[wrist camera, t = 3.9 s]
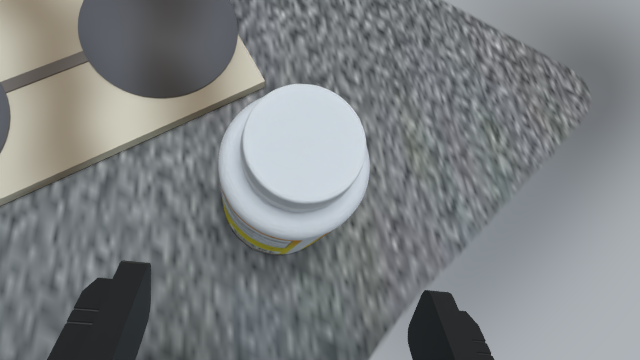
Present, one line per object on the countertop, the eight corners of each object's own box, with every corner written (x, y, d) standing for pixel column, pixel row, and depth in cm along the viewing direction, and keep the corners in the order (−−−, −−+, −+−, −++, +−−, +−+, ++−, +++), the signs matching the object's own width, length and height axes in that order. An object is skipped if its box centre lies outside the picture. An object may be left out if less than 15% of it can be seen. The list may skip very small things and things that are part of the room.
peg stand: (-130, 264, 20) (-459, 238, 11) (-213, 73, 21) (-576, -106, 12) (271, 83, 26) (295, -41, 16) (188, -60, 27) (164, -257, 17)
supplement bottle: (320, 147, 25) (375, 55, 15) (336, 248, 24) (408, 217, 14) (216, 156, 24) (206, 64, 14) (228, 263, 23) (226, 242, 13)
